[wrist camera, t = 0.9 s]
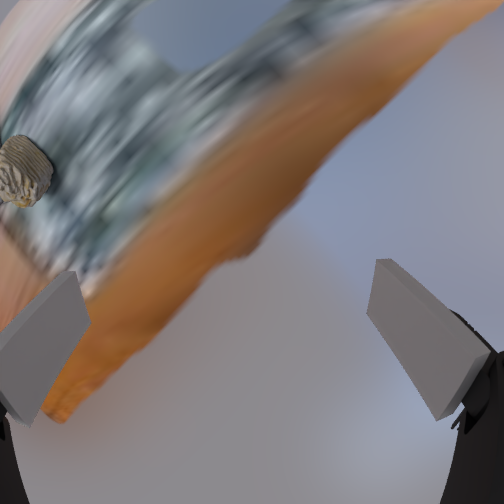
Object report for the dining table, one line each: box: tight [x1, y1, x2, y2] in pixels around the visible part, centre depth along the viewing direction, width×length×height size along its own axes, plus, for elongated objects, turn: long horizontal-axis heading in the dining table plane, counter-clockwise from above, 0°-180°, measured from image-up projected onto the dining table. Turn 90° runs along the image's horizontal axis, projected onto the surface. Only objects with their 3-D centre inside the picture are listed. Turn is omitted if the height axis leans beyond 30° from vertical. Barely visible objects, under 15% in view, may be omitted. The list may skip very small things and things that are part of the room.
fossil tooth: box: [0, 135, 53, 208], centre depth 27 cm, size 12×6×15 cm
